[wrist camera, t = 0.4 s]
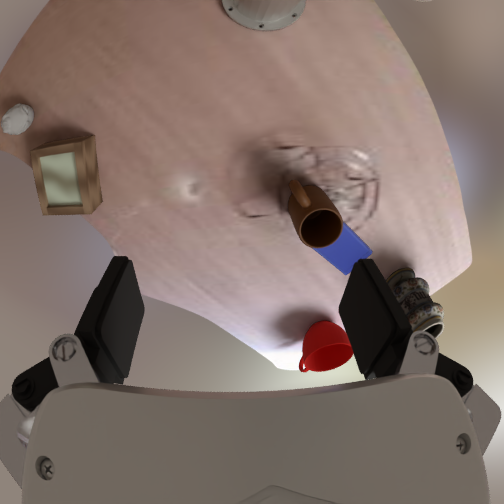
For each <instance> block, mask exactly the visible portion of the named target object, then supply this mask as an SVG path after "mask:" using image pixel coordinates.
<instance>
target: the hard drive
mask: <svg viewBox="0 0 504 504" xmlns="http://www.w3.org/2000/svg"><path fill="white" fill-rule="evenodd" d="M313 249H314V250H315V251H316V252H318V253H319V254H320V255H321V256H323V257H324V258H325V259H326V260H328V261H329V262H330V263H331V264H333V265H334V266H335V267H336V268H337V269H339V270H340V271H341V272H342V273H343V274H345V275H347V274H349V273H350V272H351V271H352V268H353V265H354V263H355V262H357V261H358V260H359V259H366V258H367V257H368V256H370V255H371V254H372V250H371V249H370V248H369V247H368V246H367V245H366V244H365V243H364V242H363V240H362V239H361V238H360V237H359V236H358V235H357V234H356V233H355V232H354V231H353V230H352V229H351V228H350V227H349V226H348V225H347V224H346V223H345V222H344V221H343V230H342V233H341V235H340V237H339V238H338V239H337V240H336V241H335V242H334V243H333V244H331V245H329V246H327V247H324V248H313Z"/></svg>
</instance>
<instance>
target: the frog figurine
mask: <svg viewBox="0 0 504 504" xmlns="http://www.w3.org/2000/svg"><path fill="white" fill-rule="evenodd" d="M33 118H34V111H33V109H32V108H31V107H30V106H28V105H25V104H21V103H20V104H16V105H15V106H14V107H13V108H10V109H9V110H8V111H7V112H6V114H5V115H4V116H3V118H2V121H1V127H2V129H3V132H4V133H8V134H10V135H12V134H15V135H19V134H21V133H22V132H24V131H25V130H26V129H27V128H28V127H29V126H30V125H31V123H32V121H33Z"/></svg>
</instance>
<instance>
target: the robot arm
mask: <svg viewBox="0 0 504 504" xmlns="http://www.w3.org/2000/svg"><path fill="white" fill-rule="evenodd" d="M305 1H306V0H222V4H223V7H224V9H225V11H226V13H227V14H228V16H229V17H230V18H231V19H232V20H233V21H235V22H236V23H238V24H239V25H241V26H243V27H246V28H249V29H252V30H257V31H274V30H279V29H282V28H285V27H287V26H289V25H291V24H292V23H294V22H295V21H296V20H297V19H298V18H299V17H300V16H301V14H302V13H303V11H304V8H305ZM415 1H431V0H415ZM229 9H232V11H229ZM292 15H294V16H295V17H292ZM260 25H261V26H262V28H260V27H259V26H260ZM339 314H340V317H341V320H342V322H343V325H344V328H345V330H346V333H347V336H348V339H349V342H350V344H351V347H352V350H353V353H354V356H355V359H356V361H357V365H358V368H359V370H360V372H361V374H364V377H365V379H366V380H364V381H358V382H352V383H345V384H338V385H331V386H323V387H314V388H305V389H294V390H280V391H259V392H199V391H179V390H166V389H154V388H144V387H135V386H126V385H118V384H123V381H124V378H127V377H128V375H129V371H130V366H131V362H132V358H133V354H134V350H135V345H136V341H137V338H138V334H139V330H140V326H141V323H142V319H143V316H144V304H143V300H142V297H141V293H140V289H139V286H138V282H137V278H136V274H135V270H134V266H133V262H132V260H129V259H128V257H127V256H114V257H113V258H112V260H111V262H110V264H109V266H108V267H107V270H106V271H105V273H104V275H103V277H102V279H101V281H100V283H99V285H98V287H96V288H95V290H94V291H93V293H92V295H91V297H90V300H89V302H88V304H87V306H86V308H85V310H84V312H83V315H82V317H81V319H80V321H79V324H78V326H77V328H76V330H75V333H74V335H73V334H63V335H60V336H59V337H57V338H56V339H55V340H54V341H53V342H52V343H51V345H50V348H49V357H48V358H46V359H44V360H43V361H41V362H39V363H38V364H36V365H34V366H33V367H31V368H30V369H28V370H26V371H25V372H23V373H21V374H20V375H18V376H17V377H16V379H15V380H14V382H13V385H12V394H11V395H9V394H7V395H6V397H4V399H3V400H2V401H1V402H0V459H1V461H2V463H3V464H4V465H5V467H6V468H7V470H8V471H9V473H10V474H11V475H12V477H13V478H14V480H15V481H16V482H17V483H18V485H19V486H20V487H21V489H22V504H491V503H490V494H489V487H488V481H487V475H486V470H485V465H484V461H483V457H482V456H483V454H484V453H485V451H486V449H487V447H488V445H489V443H490V441H491V439H492V437H493V435H494V433H495V431H496V429H497V426H498V424H499V422H500V419H501V411H500V408H499V406H498V405H497V404H496V403H495V402H494V401H493V400H492V399H491V398H490V397H489V396H488V395H487V394H486V393H485V392H484V391H483V390H482V389H481V388H480V387H479V386H478V385H477V384H476V385H473V377H472V375H471V373H470V371H469V370H468V369H467V368H465V367H464V366H462V365H461V364H459V363H457V362H455V361H453V360H452V359H450V358H448V357H446V356H444V355H442V354H441V353H439V346H438V343H437V341H436V339H435V338H434V337H433V336H432V335H431V334H429V333H428V332H425V331H416V332H414V333H413V331H412V326H411V324H410V322H409V320H408V318H407V316H406V315H405V313H404V311H403V309H402V307H401V306H400V304H399V302H398V300H397V299H396V297H395V295H394V294H393V292H392V290H391V288H390V287H389V285H388V283H387V282H386V280H385V279H384V277H383V275H382V274H381V272H380V270H379V269H378V267H377V266H376V264H375V263H374V261H373V260H372V259H359V260H358V261H357V262H355V263H354V265H353V268H352V271H351V274H350V277H349V280H348V283H347V286H346V288H345V291H344V294H343V297H342V299H341V302H340V305H339ZM374 378H375V379H374ZM368 379H370V380H368ZM114 383H117V384H114Z"/></svg>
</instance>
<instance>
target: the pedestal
mask: <svg viewBox="0 0 504 504" xmlns="http://www.w3.org/2000/svg"><path fill="white" fill-rule="evenodd" d="M30 155H31V161H32V167H33V173H34V178H35V183H36V188H37V193H38V197H39V201H40V206H41V210H42V213H43V215H75V214H92V213H93V212H94V211H95V210H96V208H97V207H98V206H99V205H100V204H101V203H102V202H103V200H102V194H101V187H100V180H99V173H98V164H97V154H96V143H95V135H91V136H84V137H77V138H71V139H65V140H59V141H54V142H49V143H45V144H43V145H41V146H39V147H37V148H35V149H33V150H31V151H30Z"/></svg>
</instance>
